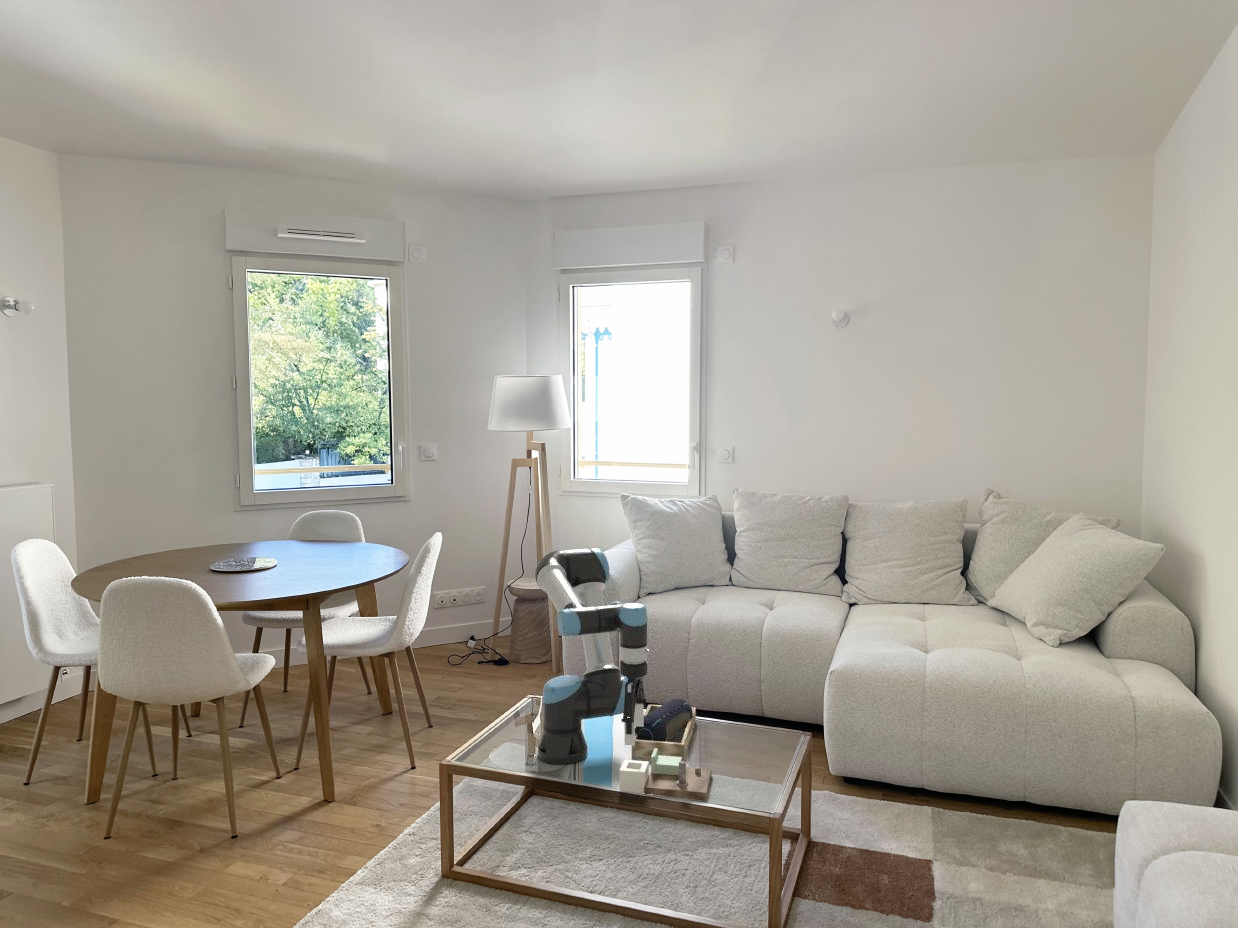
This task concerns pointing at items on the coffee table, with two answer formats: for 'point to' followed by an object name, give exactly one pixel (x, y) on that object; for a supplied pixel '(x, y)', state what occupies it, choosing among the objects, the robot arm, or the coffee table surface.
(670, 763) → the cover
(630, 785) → the sleeve
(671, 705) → the portable speaker
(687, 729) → the open wooden box
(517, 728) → the coffee table surface
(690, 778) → the base plate
